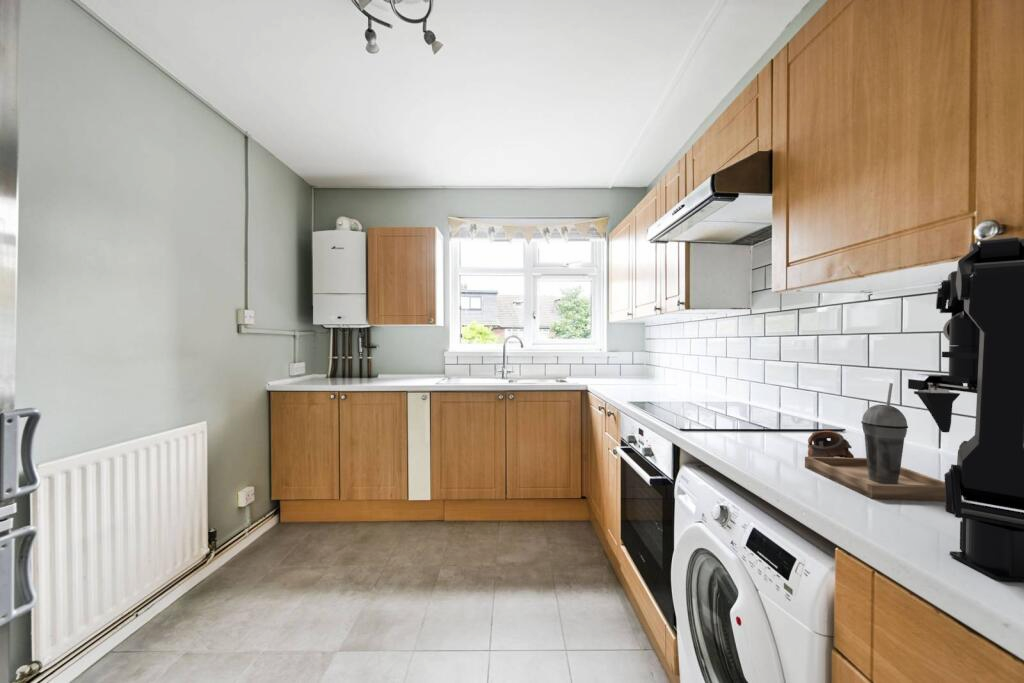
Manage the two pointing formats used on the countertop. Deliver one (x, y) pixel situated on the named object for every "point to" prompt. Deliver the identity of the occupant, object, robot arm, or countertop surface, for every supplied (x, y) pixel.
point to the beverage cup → (884, 441)
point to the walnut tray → (857, 479)
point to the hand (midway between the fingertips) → (971, 438)
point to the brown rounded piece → (828, 445)
